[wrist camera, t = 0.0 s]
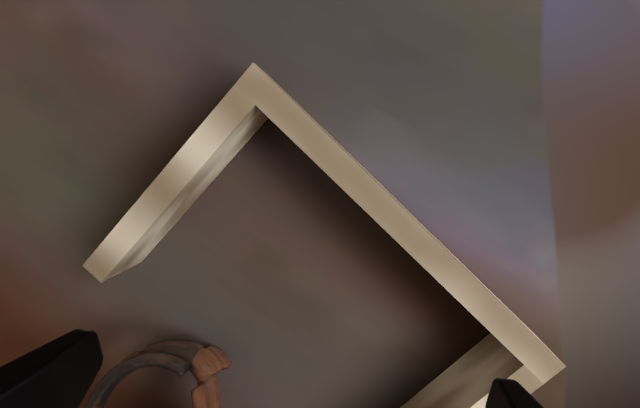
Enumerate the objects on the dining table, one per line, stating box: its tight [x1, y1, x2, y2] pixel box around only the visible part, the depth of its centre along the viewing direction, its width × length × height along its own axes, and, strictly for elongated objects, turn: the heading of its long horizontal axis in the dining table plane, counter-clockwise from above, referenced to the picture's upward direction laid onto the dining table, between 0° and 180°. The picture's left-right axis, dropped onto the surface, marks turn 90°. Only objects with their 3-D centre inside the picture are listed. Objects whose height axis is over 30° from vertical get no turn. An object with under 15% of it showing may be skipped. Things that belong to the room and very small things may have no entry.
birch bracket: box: [82, 63, 566, 408], centre depth 22 cm, size 16×23×4 cm
